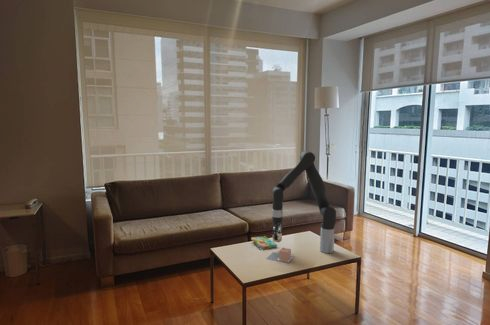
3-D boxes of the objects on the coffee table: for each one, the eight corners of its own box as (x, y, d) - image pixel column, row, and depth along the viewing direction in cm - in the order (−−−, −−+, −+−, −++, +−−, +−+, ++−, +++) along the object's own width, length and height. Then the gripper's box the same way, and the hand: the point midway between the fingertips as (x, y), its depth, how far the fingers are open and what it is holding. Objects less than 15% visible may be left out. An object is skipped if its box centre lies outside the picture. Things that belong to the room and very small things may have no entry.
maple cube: (281, 240, 231) (281, 233, 230) (279, 242, 227) (279, 235, 226) (275, 239, 233) (275, 232, 233) (272, 241, 229) (272, 234, 228)
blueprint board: (295, 258, 220) (295, 256, 220) (288, 265, 209) (288, 263, 209) (273, 254, 227) (273, 251, 227) (265, 261, 216) (265, 258, 216)
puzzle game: (262, 245, 231) (251, 236, 250) (262, 252, 232) (251, 242, 250) (276, 243, 236) (264, 234, 254) (276, 249, 236) (264, 240, 254)
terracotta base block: (290, 257, 218) (290, 249, 217) (287, 261, 213) (287, 252, 212) (282, 256, 221) (282, 247, 220) (279, 259, 215) (279, 250, 214)
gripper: (278, 218, 220) (278, 243, 222) (285, 213, 232) (285, 236, 235) (268, 217, 223) (268, 241, 225) (276, 212, 236) (275, 234, 238)
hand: (277, 238), depth 230 cm, fingers closed on maple cube, 5 cm apart
